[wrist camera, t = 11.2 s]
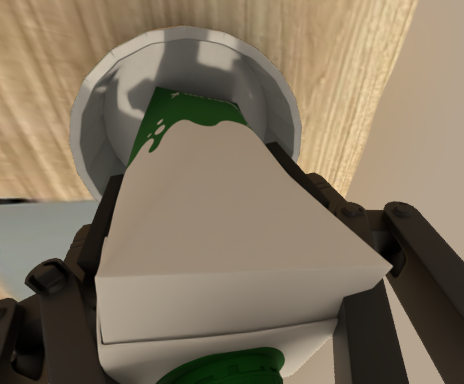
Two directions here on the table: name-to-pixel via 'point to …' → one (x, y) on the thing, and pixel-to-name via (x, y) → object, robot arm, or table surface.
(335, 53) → the table surface
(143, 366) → the soya milk
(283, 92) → the steel tub
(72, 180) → the table surface
